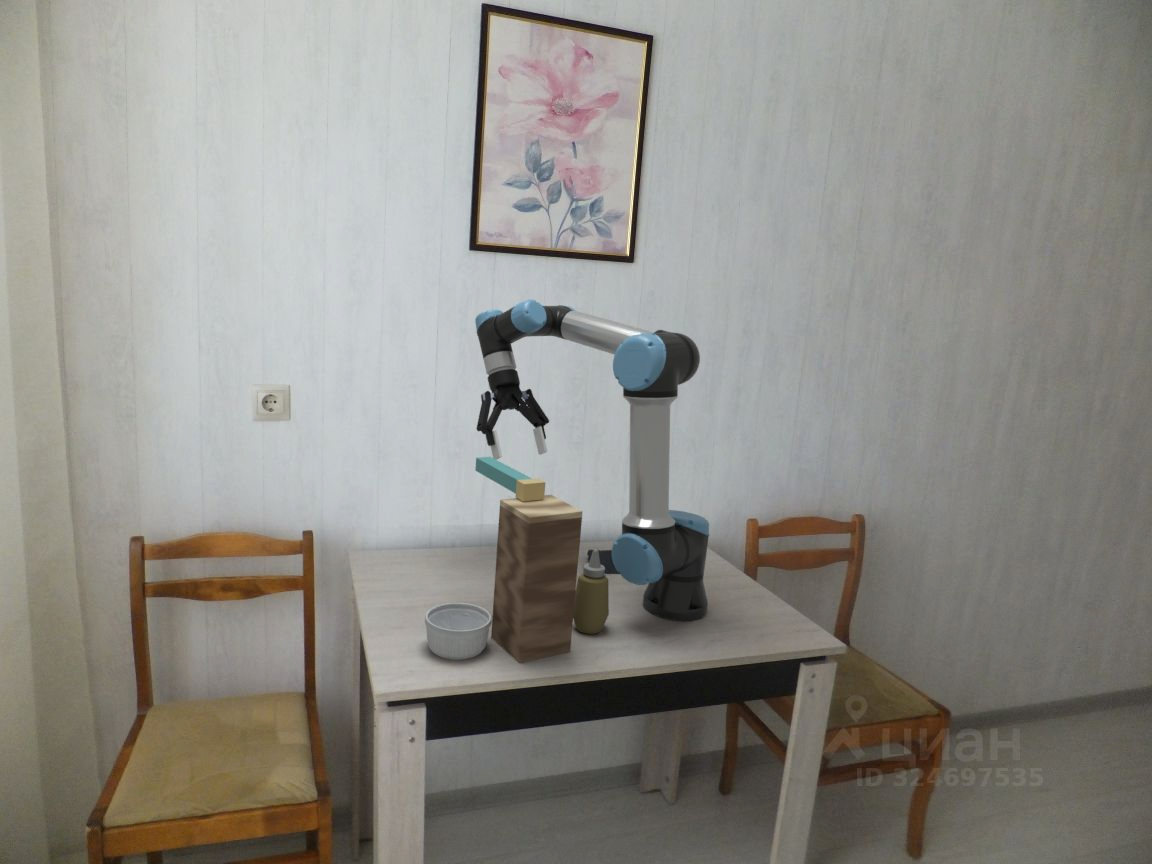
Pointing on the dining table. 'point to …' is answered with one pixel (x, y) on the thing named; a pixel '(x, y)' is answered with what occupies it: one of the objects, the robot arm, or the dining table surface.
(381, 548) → the dining table surface
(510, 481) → the peg
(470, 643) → the ramekin
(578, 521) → the post
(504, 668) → the dining table surface
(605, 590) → the squeeze bottle
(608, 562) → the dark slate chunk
